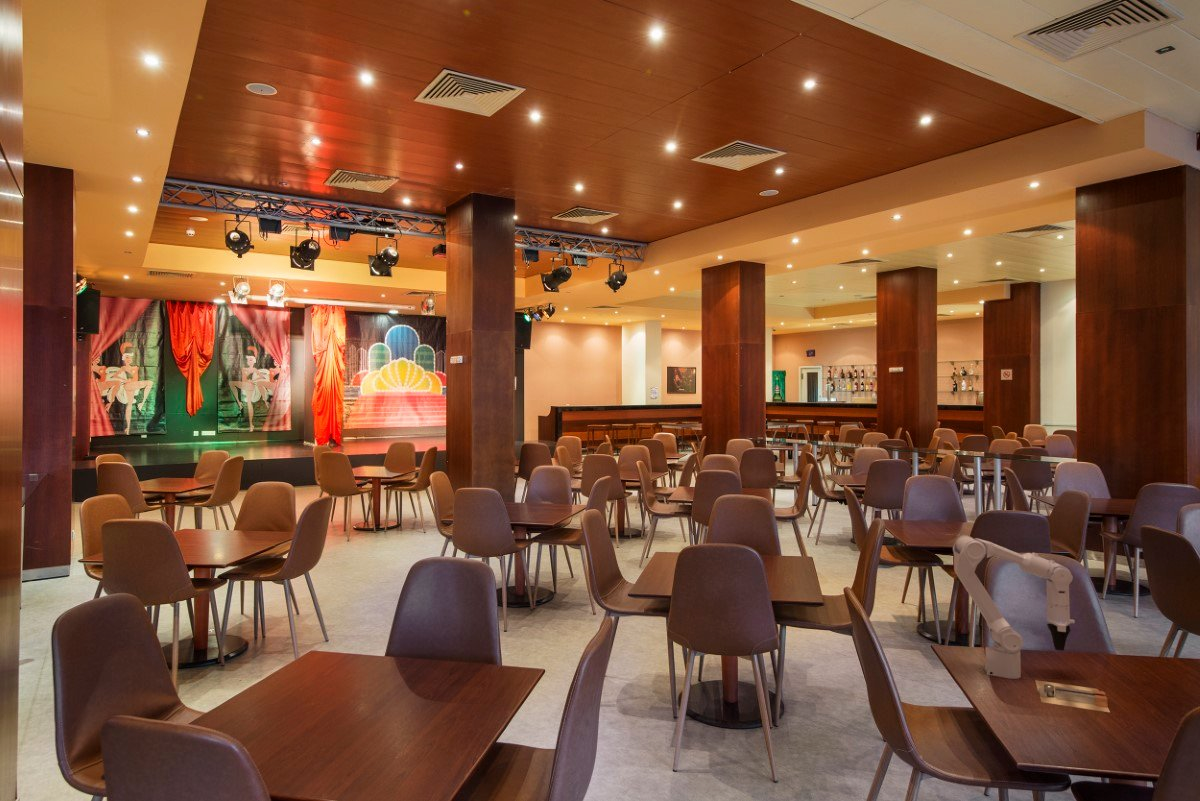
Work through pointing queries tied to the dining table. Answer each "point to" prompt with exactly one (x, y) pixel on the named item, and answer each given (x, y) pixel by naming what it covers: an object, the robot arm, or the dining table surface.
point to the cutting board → (1069, 703)
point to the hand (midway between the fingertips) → (1059, 649)
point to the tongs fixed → (1073, 696)
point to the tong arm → (1080, 691)
